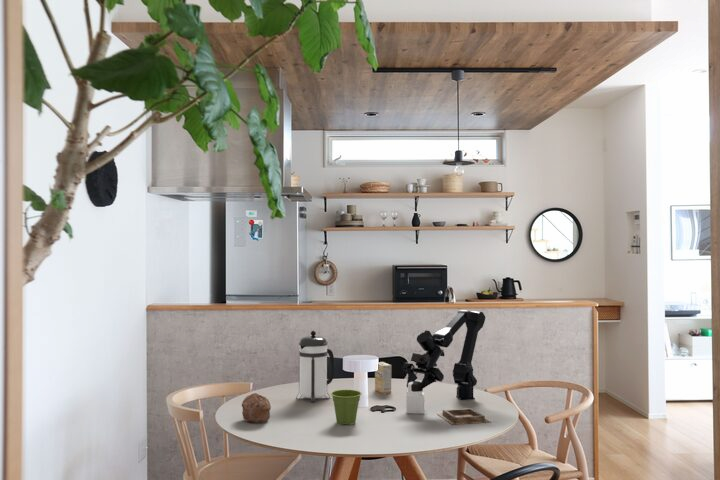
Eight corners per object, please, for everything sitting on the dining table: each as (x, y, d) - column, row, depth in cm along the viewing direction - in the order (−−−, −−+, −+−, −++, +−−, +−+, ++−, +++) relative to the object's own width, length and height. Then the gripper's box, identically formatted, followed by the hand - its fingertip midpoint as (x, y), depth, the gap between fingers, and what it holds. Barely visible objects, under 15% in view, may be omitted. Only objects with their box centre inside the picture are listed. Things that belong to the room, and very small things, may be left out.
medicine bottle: (424, 409, 261) (424, 380, 261) (424, 414, 253) (424, 384, 254) (406, 409, 261) (406, 379, 261) (406, 413, 254) (406, 383, 254)
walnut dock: (473, 413, 257) (473, 406, 257) (491, 423, 242) (491, 417, 242) (436, 415, 253) (436, 409, 253) (452, 426, 238) (452, 419, 238)
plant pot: (324, 424, 239) (324, 394, 239) (340, 416, 249) (340, 388, 249) (352, 428, 233) (352, 397, 233) (367, 420, 244) (367, 391, 244)
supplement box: (374, 390, 295) (374, 362, 295) (383, 389, 297) (383, 361, 297) (382, 394, 288) (382, 365, 288) (391, 393, 290) (391, 364, 290)
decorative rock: (239, 417, 248) (239, 392, 248) (267, 414, 252) (267, 389, 252) (245, 426, 236) (245, 399, 236) (274, 423, 240) (274, 397, 240)
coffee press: (331, 403, 271) (331, 333, 271) (294, 402, 271) (294, 333, 271) (333, 393, 288) (334, 328, 288) (298, 393, 288) (299, 327, 289)
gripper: (405, 343, 267) (386, 372, 259) (439, 348, 254) (421, 379, 246) (417, 359, 272) (400, 389, 265) (451, 365, 259) (434, 396, 251)
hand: (413, 388), depth 256 cm, fingers closed on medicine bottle, 6 cm apart
